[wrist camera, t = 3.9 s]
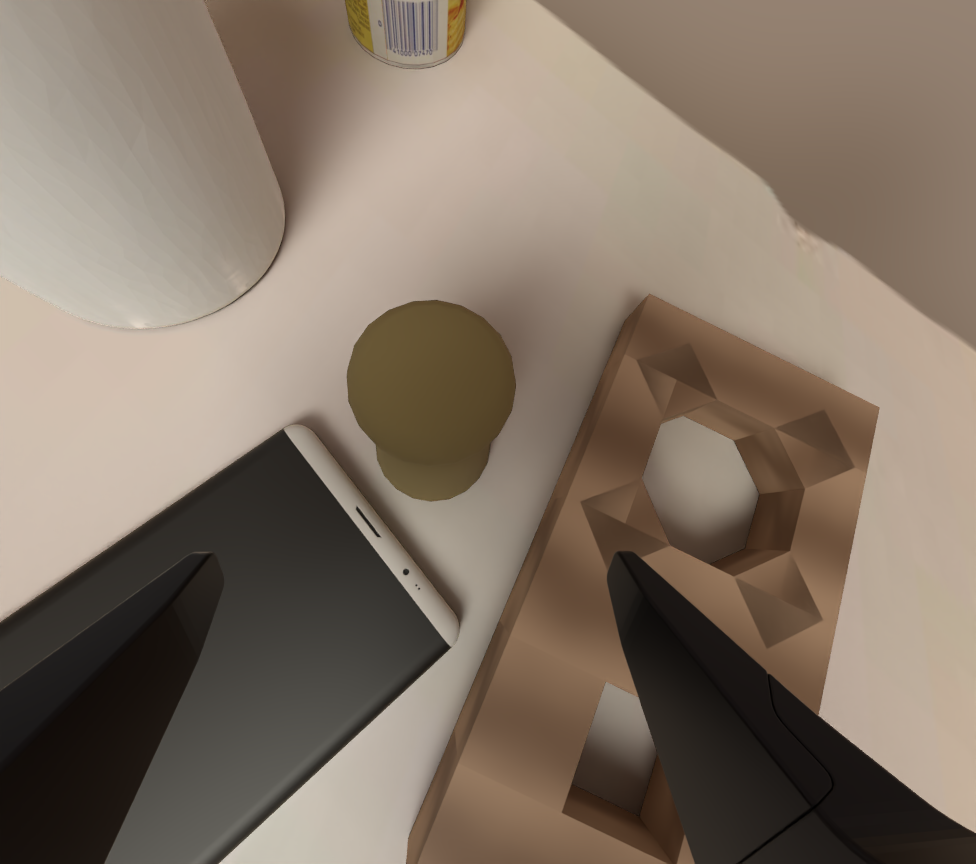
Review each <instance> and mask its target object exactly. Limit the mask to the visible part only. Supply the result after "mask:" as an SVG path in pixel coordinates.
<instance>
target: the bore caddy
mask: <svg viewBox="0 0 976 864" xmlns="http://www.w3.org/2000/svg"><path fill="white" fill-rule="evenodd" d="M878 413H879V407H877V406H875V405H873V404H871V403H869V402H867V401H865V400H863V399H861V398H859V397H857V396H855V395H853V394H851V393H849V392H847V391H845V390H843V389H841V388H839V387H837V386H835V385H833V384H831V383H829V382H827V381H825V380H823V379H821V378H819V377H817V376H815V375H813V374H811V373H809V372H807V371H805V370H803V369H800V368H798V367H796V366H794V365H792V364H790V363H788V362H786V361H784V360H782V359H780V358H778V357H776V356H774V355H772V354H770V353H768V352H766V351H764V350H762V349H760V348H758V347H756V346H754V345H752V344H750V343H748V342H746V341H744V340H742V339H740V338H738V337H736V336H734V335H732V334H730V333H728V332H726V331H724V330H722V329H720V328H718V327H716V326H714V325H712V324H710V323H707V322H705V321H703V320H701V319H699V318H697V317H695V316H693V315H691V314H689V313H687V312H685V311H683V310H681V309H679V308H677V307H675V306H673V305H671V304H669V303H667V302H665V301H663V300H661V299H659V298H657V297H655V296H653V295H651V294H649V295H648V296H647V297H646V298H645V299H644V300H643V301H642V303H641V304H640V305H639V306H638V307H637V308H636V309H635V310H634V311H633V313H632V314H631V315H630V316H629V317H628V318H627V319H626V320H625V322H624V324H623V326H622V329H621V331H620V334H619V336H618V338H617V341H616V343H615V346H614V348H613V350H612V353H611V355H610V358H609V360H608V362H607V365H606V367H605V369H604V372H603V374H602V377H601V379H600V381H599V384H598V386H597V389H596V391H595V393H594V396H593V398H592V401H591V403H590V405H589V408H588V410H587V412H586V415H585V417H584V420H583V422H582V424H581V427H580V429H579V432H578V434H577V436H576V439H575V441H574V444H573V446H572V448H571V451H570V453H569V456H568V458H567V460H566V463H565V465H564V467H563V470H562V472H561V475H560V477H559V479H558V482H557V484H556V487H555V489H554V491H553V494H552V496H551V499H550V501H549V503H548V506H547V508H546V510H545V513H544V515H543V518H542V520H541V522H540V525H539V527H538V530H537V532H536V534H535V537H534V539H533V542H532V544H531V546H530V549H529V551H528V553H527V556H526V558H525V561H524V563H523V565H522V568H521V570H520V573H519V575H518V577H517V580H516V582H515V585H514V587H513V589H512V592H511V594H510V596H509V599H508V601H507V604H506V606H505V608H504V611H503V613H502V616H501V618H500V620H499V623H498V625H497V628H496V630H495V632H494V635H493V637H492V640H491V642H490V644H489V647H488V649H487V651H486V654H485V656H484V659H483V661H482V663H481V666H480V668H479V671H478V673H477V675H476V678H475V680H474V683H473V685H472V687H471V690H470V692H469V694H468V697H467V699H466V702H465V704H464V706H463V709H462V711H461V714H460V716H459V718H458V721H457V723H456V726H455V728H454V730H453V733H452V735H451V737H450V740H449V742H448V745H447V747H446V749H445V752H444V754H443V757H442V759H441V761H440V764H439V766H438V769H437V771H436V773H435V776H434V778H433V781H432V783H431V785H430V788H429V790H428V792H427V795H426V797H425V800H424V802H423V804H422V807H421V809H420V812H419V814H418V816H417V819H416V821H415V824H414V826H413V828H412V831H411V833H410V835H409V838H408V847H407V859H406V864H695V863H694V860H693V857H692V854H691V851H690V848H689V845H688V842H687V839H686V836H685V833H684V830H683V827H682V824H681V821H680V818H679V815H678V812H677V810H676V807H675V804H674V801H673V798H672V795H671V792H670V789H669V786H668V783H667V780H666V777H665V774H664V771H663V768H662V765H661V762H660V759H659V756H658V754H657V758H656V761H655V764H654V768H653V771H652V775H651V778H650V782H649V785H648V788H647V792H646V795H645V799H644V802H643V806H642V809H641V813H640V816H637V815H635V814H633V813H630V812H628V811H626V810H624V809H622V808H620V807H618V806H616V805H614V804H612V803H610V802H608V801H605V800H603V799H601V798H599V797H597V796H595V795H593V794H591V793H589V792H587V791H585V790H583V789H580V788H578V787H576V786H574V785H572V784H571V783H572V780H573V777H574V774H575V771H576V768H577V765H578V763H579V760H580V757H581V754H582V751H583V748H584V745H585V742H586V739H587V736H588V733H589V730H590V727H591V724H592V721H593V718H594V715H595V712H596V709H597V706H598V703H599V700H600V697H601V694H602V691H603V688H604V685H605V682H608V683H610V684H612V685H614V686H616V687H618V688H620V689H622V690H625V691H627V692H629V693H631V694H633V695H635V696H637V697H638V694H637V691H636V688H635V685H634V682H633V679H632V676H631V673H630V670H629V667H628V664H627V661H626V658H625V655H624V652H623V649H622V646H621V642H620V638H619V634H618V629H617V625H616V620H615V616H614V612H613V607H612V603H611V598H610V594H609V589H608V585H607V572H608V569H609V567H610V564H611V561H612V558H613V555H614V553H615V552H616V551H633V552H635V553H636V554H637V555H638V556H639V557H640V558H642V559H643V560H644V561H645V562H646V563H647V564H648V565H649V566H650V567H652V568H653V569H654V570H655V571H656V572H657V573H658V574H659V575H661V576H662V577H663V578H664V579H665V580H666V581H667V582H668V583H669V584H671V585H672V586H673V587H674V588H675V589H676V590H677V591H678V592H680V593H681V594H682V595H683V596H684V597H685V598H686V599H687V600H688V601H690V602H691V603H692V604H693V605H694V606H695V607H696V608H697V609H698V610H700V611H701V612H702V613H703V614H704V615H705V616H706V617H707V618H709V619H710V620H711V621H712V622H713V623H714V624H715V625H716V626H717V627H719V628H720V629H721V630H722V631H723V632H724V633H725V634H726V635H728V636H729V637H730V638H731V639H732V640H733V641H734V642H735V643H736V644H738V645H739V646H740V647H741V648H742V649H743V650H744V651H745V652H747V653H748V654H749V655H750V656H751V657H752V658H753V659H754V660H755V661H757V662H758V663H759V664H760V665H761V666H762V667H763V668H764V669H766V671H767V673H768V674H771V675H772V676H773V677H775V678H776V679H777V680H778V681H779V682H780V683H781V684H782V685H784V686H785V687H786V688H787V689H788V690H789V691H790V692H791V693H793V694H794V695H795V696H796V697H797V698H798V699H800V700H801V701H802V702H803V703H804V704H805V705H806V706H808V707H809V708H810V709H811V710H812V711H813V712H815V713H816V714H817V715H818V714H819V709H820V704H821V699H822V694H823V689H824V684H825V679H826V674H827V669H828V664H829V659H830V654H831V649H832V644H833V639H834V634H835V629H836V624H837V619H838V614H839V609H840V604H841V599H842V594H843V589H844V584H845V579H846V574H847V569H848V564H849V559H850V554H851V549H852V544H853V538H854V533H855V528H856V523H857V518H858V513H859V508H860V503H861V498H862V493H863V488H864V483H865V478H866V473H867V468H868V463H869V458H870V453H871V448H872V443H873V438H874V433H875V428H876V423H877V418H878ZM681 416H685V417H687V418H689V419H691V420H693V421H695V422H697V423H699V424H701V425H704V426H706V427H708V428H710V429H712V430H714V431H716V432H718V433H720V434H722V435H724V436H726V437H728V438H730V439H732V440H734V442H735V444H736V446H737V448H738V450H739V452H740V454H741V456H742V458H743V460H744V462H745V464H746V467H747V469H748V471H749V473H750V475H751V477H752V479H753V481H754V483H755V485H756V487H757V490H758V492H759V494H760V495H759V499H758V502H757V506H756V510H755V513H754V517H753V521H752V524H751V528H750V532H749V535H748V539H747V543H746V547H745V549H743V550H741V551H738V552H736V553H734V554H732V555H729V556H727V557H725V558H723V559H720V560H718V561H716V562H714V563H711V564H707V563H705V562H703V561H701V560H699V559H697V558H695V557H693V556H691V555H689V554H686V553H684V552H682V551H680V550H678V549H676V548H674V547H672V546H670V544H669V541H668V539H667V537H666V534H665V532H664V530H663V527H662V525H661V523H660V520H659V518H658V516H657V513H656V511H655V509H654V506H653V504H652V502H651V499H650V497H649V495H648V492H647V490H646V488H645V485H644V483H643V481H642V475H643V473H644V470H645V467H646V464H647V461H648V459H649V456H650V453H651V450H652V448H653V445H654V442H655V439H656V436H657V434H658V431H659V428H660V425H661V423H664V422H667V421H670V420H673V419H676V418H678V417H681Z"/></svg>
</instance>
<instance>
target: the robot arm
mask: <svg viewBox="0 0 976 864" xmlns="http://www.w3.org/2000/svg"><path fill="white" fill-rule="evenodd" d="M607 585H608V589H609V594H610V598H611V603H612V607H613V612H614V616H615V620H616V625H617V629H618V634H619V638H620V642H621V646H622V649H623V652H624V655H625V658H626V661H627V664H628V667H629V670H630V673H631V676H632V679H633V682H634V685H635V688H636V691H637V694H638V697H639V700H640V703H641V706H642V709H643V712H644V715H645V718H646V721H647V724H648V727H649V730H650V732H651V735H652V738H653V741H654V744H655V747H656V750H657V753H658V756H659V759H660V762H661V765H662V768H663V771H664V774H665V777H666V780H667V783H668V786H669V789H670V792H671V795H672V798H673V801H674V804H675V807H676V810H677V812H678V815H679V818H680V821H681V824H682V827H683V830H684V833H685V836H686V839H687V842H688V845H689V848H690V851H691V854H692V857H693V860H694V863H695V864H976V833H974V832H972V831H971V830H969V829H967V828H965V827H963V826H962V825H960V824H958V823H957V822H955V821H954V820H952V819H950V818H949V817H947V816H946V815H944V814H943V813H941V812H940V811H938V810H937V809H935V808H934V807H933V806H931V805H930V804H929V803H927V802H926V801H925V800H923V799H922V798H921V797H920V796H918V795H917V794H916V793H915V792H913V791H912V790H911V789H909V788H908V787H907V786H906V785H904V784H903V783H902V782H901V781H899V780H898V779H897V778H896V777H894V776H893V775H892V774H891V773H889V772H888V771H887V770H886V769H884V768H883V767H882V766H880V765H879V764H878V763H877V762H875V761H874V760H873V759H872V758H870V757H869V756H868V755H867V754H865V753H864V752H863V751H862V750H860V749H859V748H858V747H857V746H855V745H854V744H853V743H851V742H850V741H849V740H848V739H846V738H845V737H844V736H843V735H842V734H840V733H839V732H838V731H837V730H835V729H834V728H833V727H832V726H830V725H829V724H828V723H827V722H826V721H824V720H823V719H822V718H821V717H819V716H818V715H817V714H816V713H815V712H813V711H812V710H811V709H810V708H809V707H808V706H806V705H805V704H804V703H803V702H802V701H801V700H800V699H798V698H797V697H796V696H795V695H794V694H793V693H791V692H790V691H789V690H788V689H787V688H786V687H785V686H784V685H782V684H781V683H780V682H779V681H778V680H777V679H776V678H775V677H773V676H772V675H771V674H768V673H767V671H766V669H764V668H763V667H762V666H761V665H760V664H759V663H758V662H757V661H755V660H754V659H753V658H752V657H751V656H750V655H749V654H748V653H747V652H745V651H744V650H743V649H742V648H741V647H740V646H739V645H738V644H736V643H735V642H734V641H733V640H732V639H731V638H730V637H729V636H728V635H726V634H725V633H724V632H723V631H722V630H721V629H720V628H719V627H717V626H716V625H715V624H714V623H713V622H712V621H711V620H710V619H709V618H707V617H706V616H705V615H704V614H703V613H702V612H701V611H700V610H698V609H697V608H696V607H695V606H694V605H693V604H692V603H691V602H690V601H688V600H687V599H686V598H685V597H684V596H683V595H682V594H681V593H680V592H678V591H677V590H676V589H675V588H674V587H673V586H672V585H671V584H669V583H668V582H667V581H666V580H665V579H664V578H663V577H662V576H661V575H659V574H658V573H657V572H656V571H655V570H654V569H653V568H652V567H650V566H649V565H648V564H647V563H646V562H645V561H644V560H643V559H642V558H640V557H639V556H638V555H637V554H636V553H635V552H633V551H616V552H615V553H614V555H613V558H612V561H611V564H610V567H609V569H608V572H607ZM223 587H224V575H223V572H222V569H221V567H220V564H219V561H218V558H217V556H216V554H215V553H213V552H193V553H191V554H189V555H187V556H186V557H184V558H183V559H182V560H180V561H179V562H177V563H176V564H175V565H173V566H172V567H171V568H169V569H168V570H166V571H165V572H164V573H162V574H161V575H159V576H158V577H157V578H155V579H154V580H153V581H151V582H150V583H148V584H147V585H146V586H144V587H143V588H141V589H140V590H139V591H137V592H136V593H135V594H133V595H132V596H130V597H129V598H128V599H126V600H125V601H123V602H122V603H121V604H119V605H118V606H117V607H115V608H114V609H112V610H111V611H110V612H108V613H107V614H105V615H104V616H103V617H101V618H100V619H99V620H97V621H96V622H94V623H93V624H92V625H90V626H89V627H87V628H86V629H85V630H83V631H82V632H80V633H79V634H78V635H76V636H75V637H74V638H72V639H71V640H69V641H68V642H67V643H65V644H64V645H62V646H61V647H60V648H58V649H57V650H56V651H54V652H53V653H51V654H50V655H49V656H47V657H46V658H44V659H43V660H42V661H40V662H39V663H38V664H36V665H35V666H33V667H32V668H31V669H29V670H28V671H26V672H25V673H24V674H22V675H21V676H20V677H18V678H17V679H15V680H14V681H13V682H11V683H10V684H8V685H7V686H6V687H4V688H3V689H2V690H0V864H105V862H106V859H107V857H108V855H109V853H110V851H111V849H112V846H113V844H114V842H115V840H116V838H117V836H118V833H119V831H120V829H121V827H122V825H123V823H124V820H125V818H126V816H127V814H128V812H129V810H130V807H131V805H132V803H133V801H134V799H135V797H136V795H137V792H138V790H139V788H140V786H141V784H142V782H143V779H144V777H145V775H146V773H147V771H148V769H149V766H150V764H151V762H152V760H153V758H154V756H155V753H156V751H157V749H158V747H159V745H160V743H161V740H162V738H163V736H164V734H165V732H166V730H167V727H168V725H169V723H170V721H171V719H172V717H173V714H174V712H175V710H176V708H177V706H178V704H179V701H180V699H181V697H182V695H183V693H184V691H185V688H186V686H187V684H188V682H189V680H190V678H191V675H192V673H193V671H194V669H195V666H196V664H197V662H198V660H199V657H200V654H201V652H202V649H203V646H204V643H205V640H206V637H207V634H208V631H209V629H210V626H211V623H212V620H213V617H214V614H215V611H216V608H217V605H218V602H219V599H220V596H221V593H222V590H223Z"/></svg>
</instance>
